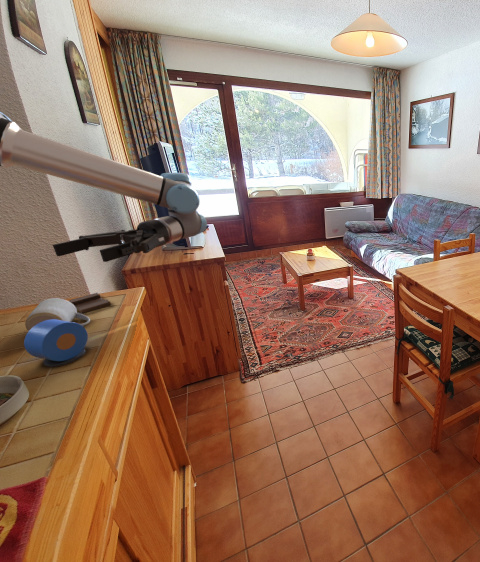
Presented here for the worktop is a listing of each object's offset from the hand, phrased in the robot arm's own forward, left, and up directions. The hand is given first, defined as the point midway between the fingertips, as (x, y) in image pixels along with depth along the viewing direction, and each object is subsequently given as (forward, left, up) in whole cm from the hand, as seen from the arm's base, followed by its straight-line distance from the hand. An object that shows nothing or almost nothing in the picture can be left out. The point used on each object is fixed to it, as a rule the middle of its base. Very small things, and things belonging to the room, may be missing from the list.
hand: (78, 253), depth 70 cm
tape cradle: (-18, +13, -22) cm, 31 cm away
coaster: (-1, -10, -22) cm, 24 cm away
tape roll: (-1, -10, -21) cm, 23 cm away
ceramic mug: (-14, +1, -22) cm, 26 cm away
